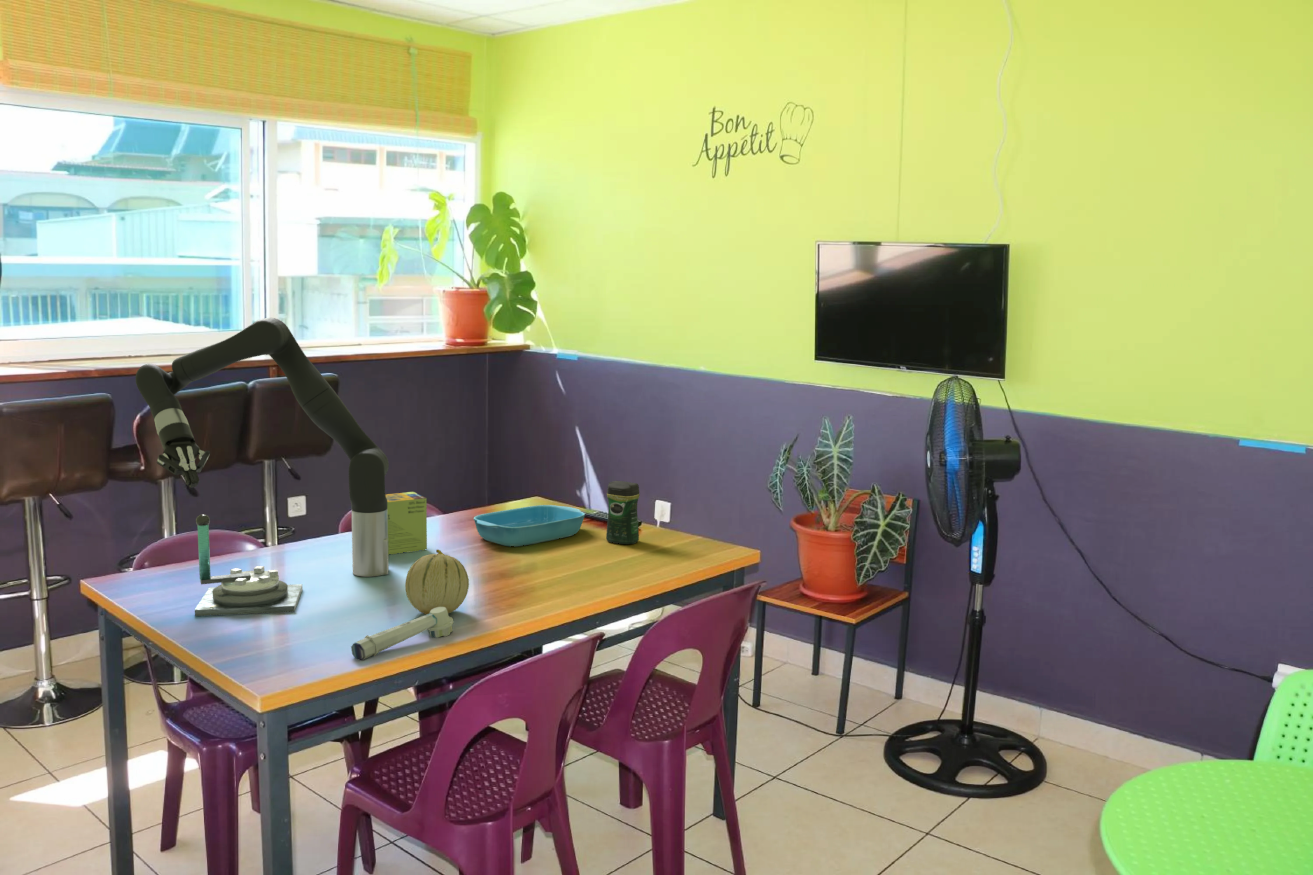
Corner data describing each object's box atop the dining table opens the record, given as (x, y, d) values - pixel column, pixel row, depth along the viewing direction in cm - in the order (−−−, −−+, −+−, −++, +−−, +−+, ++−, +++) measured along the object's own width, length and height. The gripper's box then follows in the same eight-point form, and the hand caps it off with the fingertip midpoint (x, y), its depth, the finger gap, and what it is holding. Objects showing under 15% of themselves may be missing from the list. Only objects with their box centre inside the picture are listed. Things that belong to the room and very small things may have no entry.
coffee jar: (642, 541, 330) (644, 481, 328) (629, 546, 324) (630, 485, 321) (615, 536, 335) (616, 477, 332) (601, 541, 328) (602, 481, 326)
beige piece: (347, 639, 227) (440, 598, 245) (352, 668, 229) (444, 625, 247) (363, 645, 224) (456, 603, 242) (367, 674, 225) (459, 630, 244)
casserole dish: (551, 521, 354) (551, 500, 353) (598, 533, 339) (598, 511, 338) (459, 539, 328) (459, 516, 327) (505, 554, 313) (506, 530, 312)
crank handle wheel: (274, 578, 270) (272, 503, 267) (282, 592, 259) (280, 514, 256) (196, 586, 262) (193, 509, 259) (201, 601, 250) (198, 520, 248)
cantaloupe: (412, 626, 247) (411, 563, 245) (400, 608, 260) (399, 547, 258) (475, 619, 253) (475, 557, 251) (461, 601, 266) (460, 542, 264)
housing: (302, 589, 273) (302, 576, 272) (294, 611, 256) (294, 597, 255) (209, 593, 268) (208, 579, 268) (194, 616, 251) (194, 601, 250)
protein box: (427, 550, 314) (427, 497, 312) (376, 556, 306) (375, 503, 303) (414, 542, 323) (413, 491, 321) (363, 548, 314) (362, 496, 312)
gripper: (149, 423, 266) (169, 479, 258) (204, 419, 275) (224, 473, 267) (143, 442, 270) (162, 497, 263) (197, 438, 279) (217, 491, 272)
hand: (194, 485), depth 265 cm, fingers closed
